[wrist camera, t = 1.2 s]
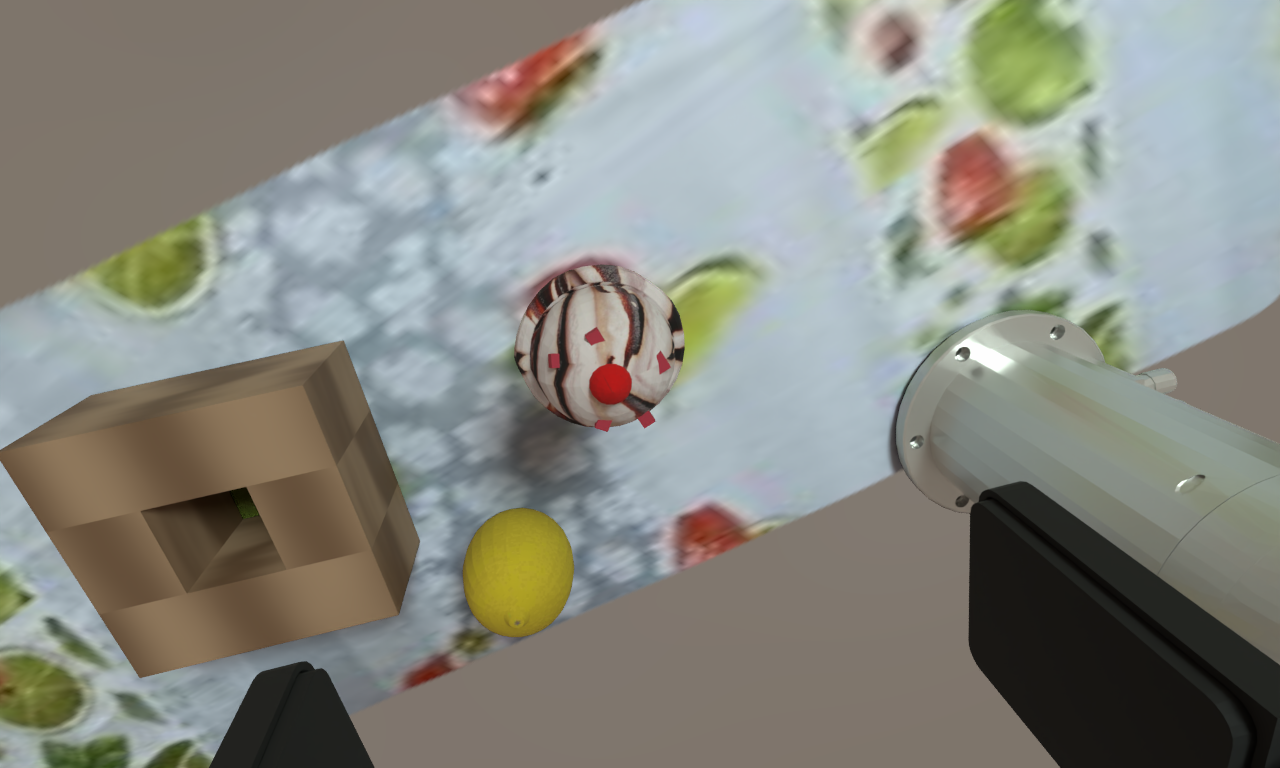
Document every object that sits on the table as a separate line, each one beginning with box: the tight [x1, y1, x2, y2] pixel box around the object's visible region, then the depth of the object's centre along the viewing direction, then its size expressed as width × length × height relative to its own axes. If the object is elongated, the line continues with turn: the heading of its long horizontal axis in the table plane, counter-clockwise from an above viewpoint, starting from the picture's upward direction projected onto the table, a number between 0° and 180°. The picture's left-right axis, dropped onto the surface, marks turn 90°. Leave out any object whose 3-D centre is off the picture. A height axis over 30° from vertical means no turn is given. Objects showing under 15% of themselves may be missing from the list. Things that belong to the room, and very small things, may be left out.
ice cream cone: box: [514, 265, 685, 432], centre depth 26 cm, size 6×6×15 cm
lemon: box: [463, 508, 574, 637], centre depth 34 cm, size 6×6×8 cm
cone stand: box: [0, 340, 420, 678], centre depth 31 cm, size 12×12×6 cm
